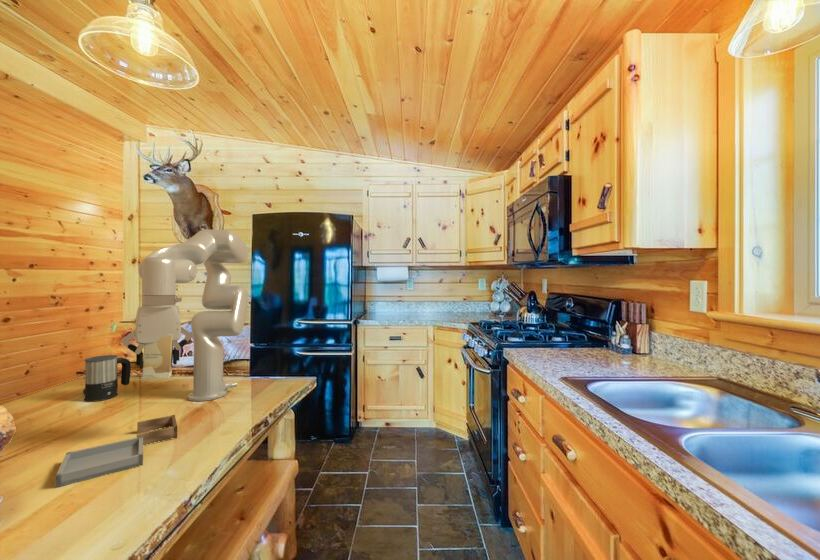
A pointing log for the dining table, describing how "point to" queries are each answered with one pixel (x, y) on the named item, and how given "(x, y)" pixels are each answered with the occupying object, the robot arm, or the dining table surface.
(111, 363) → the milk frother
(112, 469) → the tray
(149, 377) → the skincare box
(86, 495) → the dining table surface
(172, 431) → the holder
